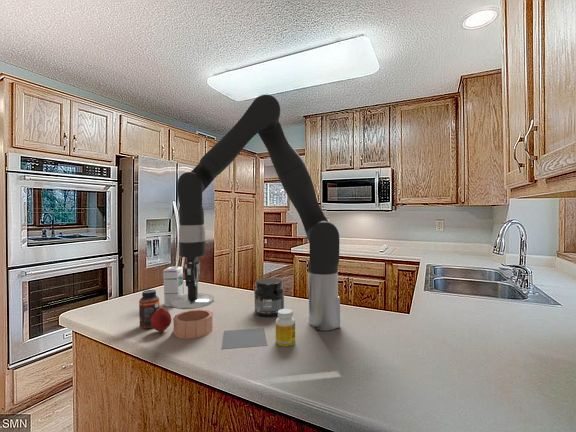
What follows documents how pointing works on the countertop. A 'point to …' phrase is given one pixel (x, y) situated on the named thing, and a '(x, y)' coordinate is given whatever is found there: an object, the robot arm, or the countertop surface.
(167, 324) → the onion
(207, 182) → the robot arm
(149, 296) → the supplement bottle
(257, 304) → the supplement container
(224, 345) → the mat
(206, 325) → the bowl
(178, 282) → the syrup box
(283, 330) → the supplement bottle
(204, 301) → the lid
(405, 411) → the countertop surface
